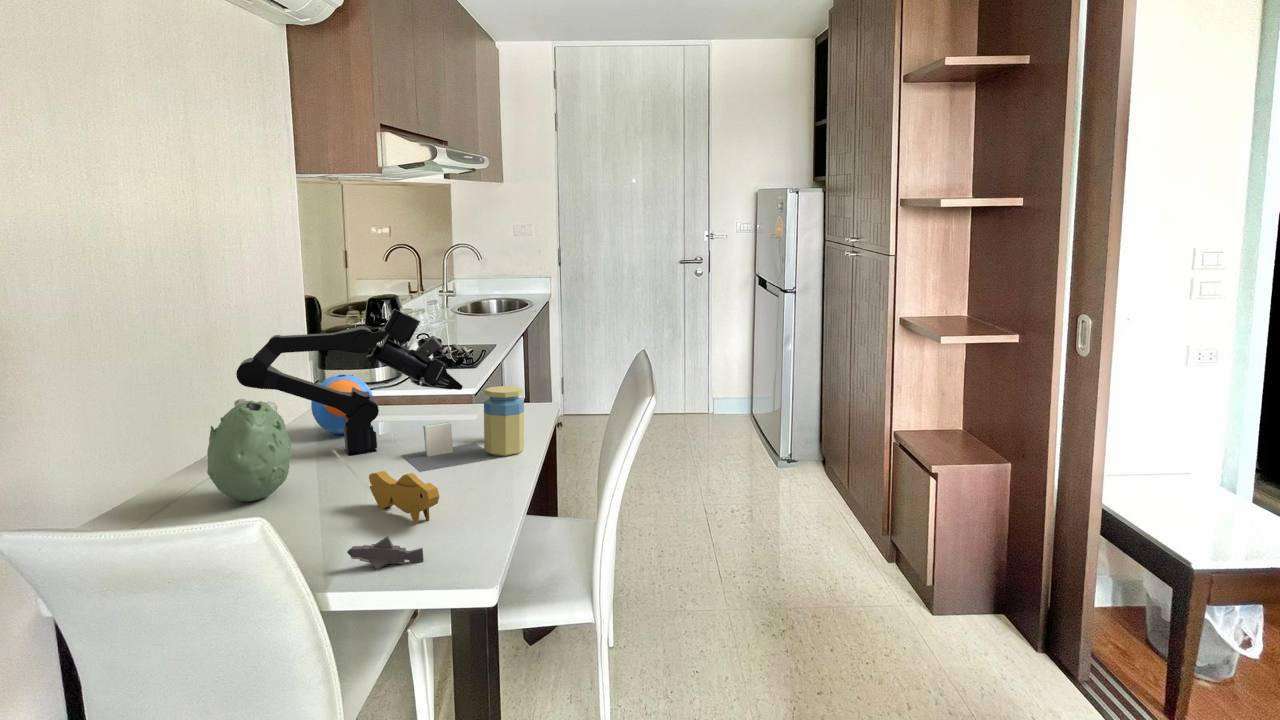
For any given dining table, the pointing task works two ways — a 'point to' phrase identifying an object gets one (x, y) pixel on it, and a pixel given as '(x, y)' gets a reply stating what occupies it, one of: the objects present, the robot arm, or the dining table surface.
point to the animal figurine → (384, 553)
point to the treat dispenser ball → (331, 416)
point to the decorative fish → (404, 493)
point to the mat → (448, 457)
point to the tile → (438, 439)
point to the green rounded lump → (249, 451)
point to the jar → (503, 421)
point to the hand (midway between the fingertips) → (457, 387)
